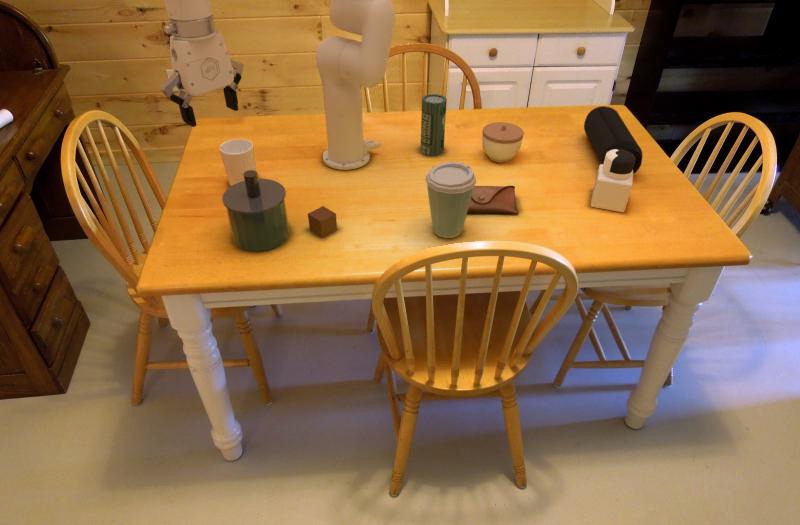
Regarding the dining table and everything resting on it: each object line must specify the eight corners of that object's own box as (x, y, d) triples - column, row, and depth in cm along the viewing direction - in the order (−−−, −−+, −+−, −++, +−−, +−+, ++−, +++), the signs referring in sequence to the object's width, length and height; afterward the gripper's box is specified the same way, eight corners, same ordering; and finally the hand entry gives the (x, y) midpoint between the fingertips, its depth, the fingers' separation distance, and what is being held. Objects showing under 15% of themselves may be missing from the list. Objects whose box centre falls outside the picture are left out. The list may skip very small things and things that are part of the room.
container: (625, 196, 137) (639, 148, 129) (624, 213, 132) (639, 164, 124) (592, 190, 139) (605, 143, 131) (590, 207, 134) (603, 158, 126)
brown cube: (324, 221, 128) (323, 205, 125) (337, 229, 126) (336, 213, 123) (309, 229, 126) (307, 213, 123) (322, 238, 123) (320, 221, 120)
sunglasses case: (444, 214, 130) (444, 185, 129) (440, 212, 137) (440, 185, 136) (521, 213, 130) (521, 184, 129) (513, 212, 137) (514, 184, 136)
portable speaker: (639, 182, 143) (650, 146, 137) (600, 181, 143) (609, 145, 137) (612, 136, 163) (621, 103, 156) (578, 135, 163) (586, 102, 157)
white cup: (251, 192, 138) (244, 155, 131) (221, 188, 139) (213, 152, 132) (264, 176, 144) (258, 140, 137) (235, 172, 145) (228, 137, 138)
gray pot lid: (276, 178, 125) (272, 153, 121) (294, 207, 116) (291, 181, 112) (217, 191, 120) (211, 166, 116) (231, 223, 111) (225, 196, 107)
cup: (279, 214, 130) (274, 177, 124) (296, 243, 122) (291, 204, 115) (228, 227, 126) (219, 189, 120) (241, 258, 118) (232, 218, 111)
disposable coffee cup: (436, 248, 121) (439, 189, 111) (415, 222, 128) (417, 164, 119) (479, 237, 124) (486, 178, 114) (456, 212, 132) (461, 154, 122)
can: (447, 152, 154) (450, 100, 145) (429, 158, 152) (432, 105, 142) (434, 143, 158) (436, 92, 149) (416, 149, 155) (418, 97, 146)
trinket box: (508, 145, 158) (512, 113, 152) (526, 163, 150) (532, 130, 144) (473, 150, 155) (476, 119, 149) (490, 169, 147) (494, 136, 141)
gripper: (160, 42, 93) (184, 137, 103) (245, 19, 103) (259, 108, 114) (136, 32, 96) (162, 125, 107) (221, 11, 107) (236, 98, 117)
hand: (212, 116), depth 110 cm, fingers open, 9 cm apart
